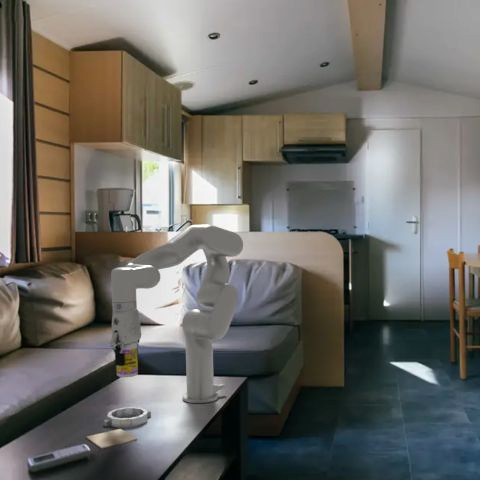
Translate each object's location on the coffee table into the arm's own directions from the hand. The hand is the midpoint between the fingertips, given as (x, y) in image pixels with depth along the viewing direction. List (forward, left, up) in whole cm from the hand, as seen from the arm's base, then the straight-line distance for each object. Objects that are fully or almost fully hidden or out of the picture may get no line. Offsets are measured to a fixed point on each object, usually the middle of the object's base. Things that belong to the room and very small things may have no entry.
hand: (127, 362), depth 202 cm
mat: (+11, +12, -19) cm, 25 cm away
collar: (0, 0, -19) cm, 19 cm away
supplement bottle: (0, 0, -4) cm, 4 cm away
